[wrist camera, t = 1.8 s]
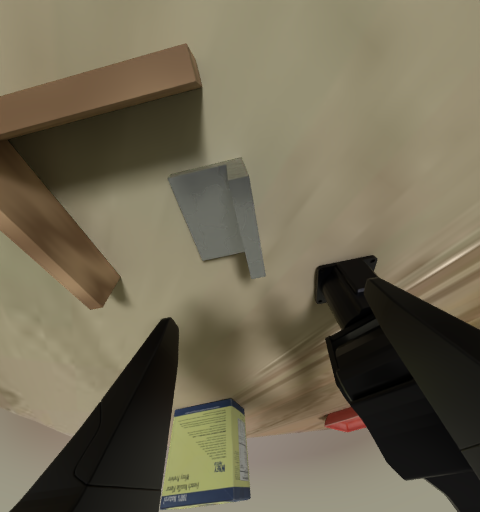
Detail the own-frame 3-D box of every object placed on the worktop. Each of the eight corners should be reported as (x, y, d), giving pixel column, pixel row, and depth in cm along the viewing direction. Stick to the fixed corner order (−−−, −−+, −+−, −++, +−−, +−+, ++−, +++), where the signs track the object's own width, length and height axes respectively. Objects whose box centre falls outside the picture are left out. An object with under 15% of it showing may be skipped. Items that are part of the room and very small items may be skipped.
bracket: (256, 241, 20) (265, 276, 16) (203, 253, 20) (199, 289, 16) (241, 156, 15) (248, 175, 11) (171, 173, 15) (153, 198, 11)
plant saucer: (373, 396, 57) (381, 410, 54) (392, 406, 66) (399, 419, 63) (319, 413, 64) (323, 426, 61) (342, 420, 72) (347, 432, 70)
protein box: (173, 409, 49) (157, 511, 37) (231, 397, 47) (235, 501, 34) (193, 419, 55) (185, 508, 43) (245, 408, 53) (252, 500, 41)
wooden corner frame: (242, 250, 20) (246, 278, 17) (110, 278, 21) (90, 309, 18) (195, 60, 11) (186, 43, 8) (-28, 122, 12) (-115, 128, 9)
